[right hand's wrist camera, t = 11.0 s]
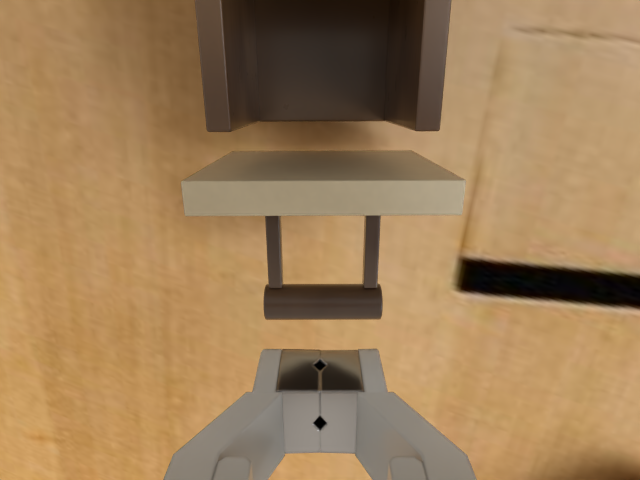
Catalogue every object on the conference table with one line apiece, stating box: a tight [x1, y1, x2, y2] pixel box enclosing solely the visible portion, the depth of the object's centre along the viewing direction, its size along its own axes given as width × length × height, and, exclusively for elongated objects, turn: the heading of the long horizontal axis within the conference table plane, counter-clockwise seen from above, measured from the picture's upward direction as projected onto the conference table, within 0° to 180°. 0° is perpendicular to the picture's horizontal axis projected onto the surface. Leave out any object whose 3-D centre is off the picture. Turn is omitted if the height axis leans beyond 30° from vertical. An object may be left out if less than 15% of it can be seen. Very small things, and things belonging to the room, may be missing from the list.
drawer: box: [181, 0, 466, 320], centre depth 15 cm, size 24×9×8 cm, turn 0°
